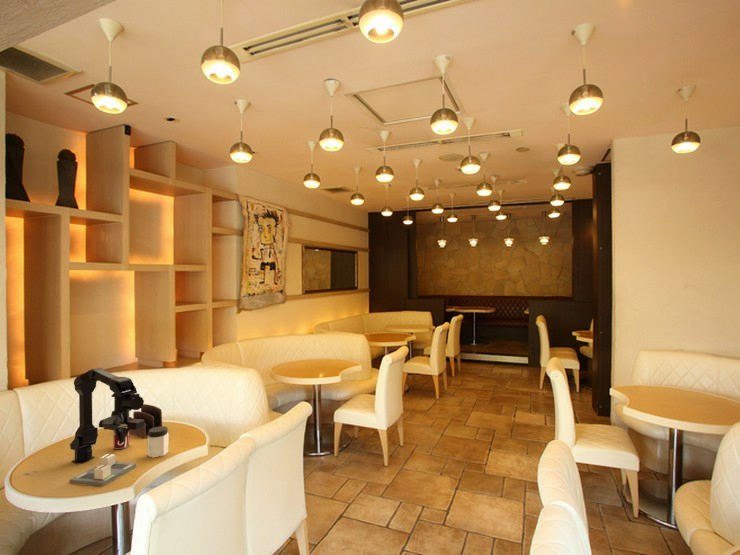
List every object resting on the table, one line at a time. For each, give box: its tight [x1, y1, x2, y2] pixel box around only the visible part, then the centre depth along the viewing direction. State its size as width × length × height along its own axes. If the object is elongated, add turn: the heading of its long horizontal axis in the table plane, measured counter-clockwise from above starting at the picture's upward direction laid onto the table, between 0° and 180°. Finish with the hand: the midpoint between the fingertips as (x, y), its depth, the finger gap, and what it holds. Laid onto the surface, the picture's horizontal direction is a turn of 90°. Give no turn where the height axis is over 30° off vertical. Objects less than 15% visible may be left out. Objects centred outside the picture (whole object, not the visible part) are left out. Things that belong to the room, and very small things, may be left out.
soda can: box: [112, 431, 130, 450], centre depth 202 cm, size 7×7×12 cm
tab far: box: [99, 453, 116, 466], centre depth 178 cm, size 4×4×4 cm
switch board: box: [68, 461, 137, 487], centre depth 172 cm, size 16×18×2 cm
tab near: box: [94, 465, 111, 480], centre depth 167 cm, size 4×4×4 cm
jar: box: [146, 425, 169, 459], centre depth 194 cm, size 9×8×12 cm
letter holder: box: [129, 403, 163, 439], centre depth 223 cm, size 10×20×14 cm, turn 59°
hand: (121, 442), depth 177 cm, fingers closed
